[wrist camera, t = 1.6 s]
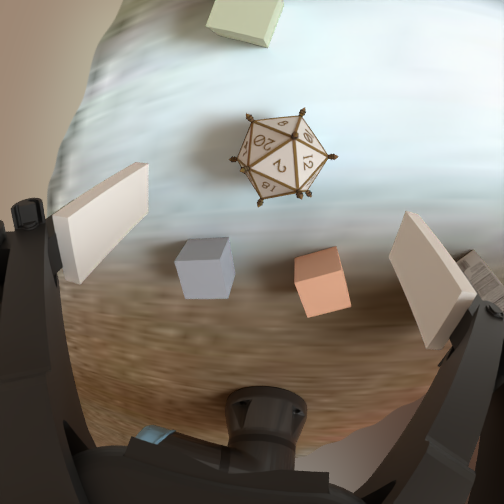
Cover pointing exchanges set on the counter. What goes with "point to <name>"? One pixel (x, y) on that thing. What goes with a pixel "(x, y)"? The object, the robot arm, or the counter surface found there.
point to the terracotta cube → (321, 282)
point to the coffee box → (482, 279)
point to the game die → (281, 156)
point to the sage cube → (246, 19)
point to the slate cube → (206, 268)
